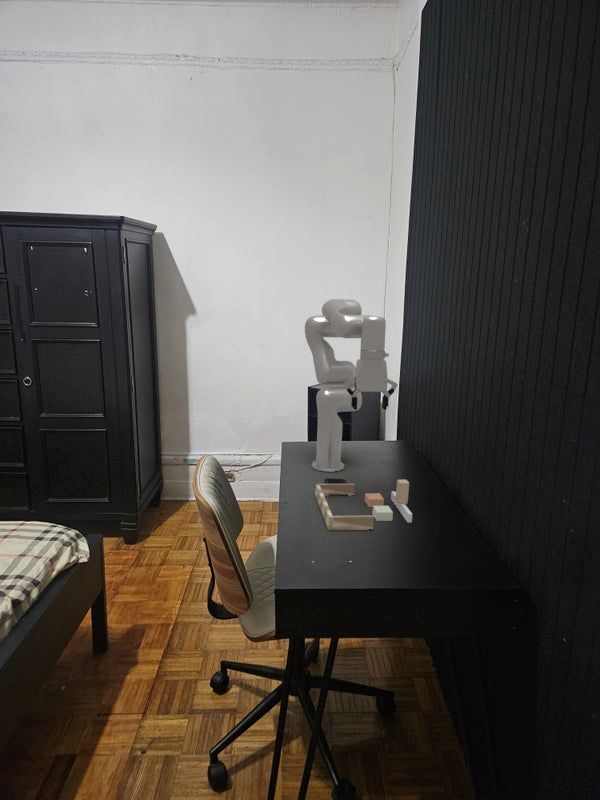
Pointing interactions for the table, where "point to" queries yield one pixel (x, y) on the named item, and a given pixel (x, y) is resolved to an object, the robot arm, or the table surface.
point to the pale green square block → (382, 513)
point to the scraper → (402, 499)
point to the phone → (335, 481)
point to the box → (341, 521)
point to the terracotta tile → (374, 499)
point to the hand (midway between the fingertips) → (369, 409)
